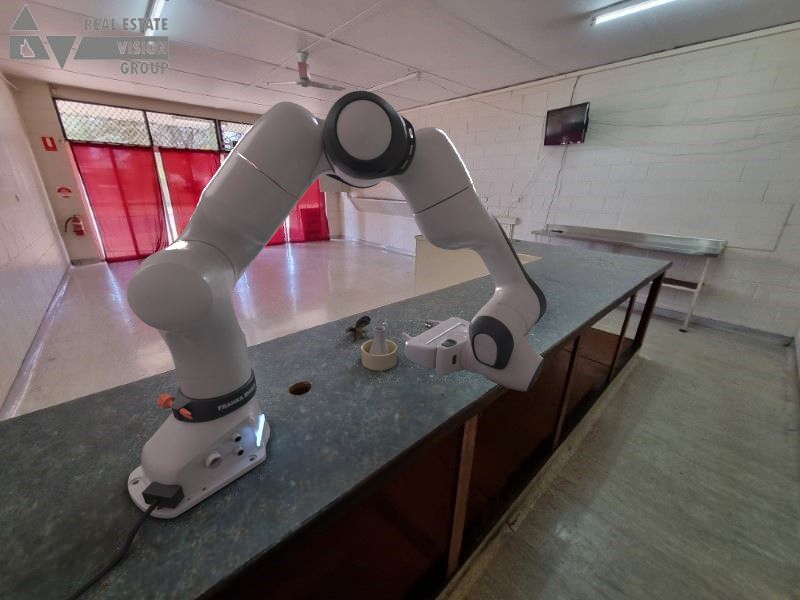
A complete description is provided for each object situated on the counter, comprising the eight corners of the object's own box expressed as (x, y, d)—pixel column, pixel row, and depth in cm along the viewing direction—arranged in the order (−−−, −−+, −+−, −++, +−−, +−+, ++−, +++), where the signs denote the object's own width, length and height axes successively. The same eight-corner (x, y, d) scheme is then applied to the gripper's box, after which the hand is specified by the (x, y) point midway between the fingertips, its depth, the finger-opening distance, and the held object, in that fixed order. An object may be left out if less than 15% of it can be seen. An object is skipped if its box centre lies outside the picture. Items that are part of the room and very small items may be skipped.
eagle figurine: (371, 340, 99) (376, 323, 107) (358, 323, 96) (363, 308, 104) (352, 349, 102) (358, 332, 110) (339, 333, 99) (345, 317, 107)
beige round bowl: (384, 374, 84) (384, 359, 82) (354, 363, 88) (354, 349, 87) (403, 357, 92) (403, 344, 90) (374, 348, 97) (374, 335, 95)
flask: (396, 358, 91) (397, 326, 88) (382, 369, 85) (382, 336, 82) (376, 350, 95) (376, 320, 91) (361, 361, 89) (360, 329, 85)
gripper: (487, 320, 76) (439, 305, 84) (439, 352, 61) (387, 330, 70) (484, 343, 78) (438, 326, 86) (437, 379, 63) (386, 355, 72)
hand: (415, 328), depth 78 cm, fingers open, 8 cm apart
